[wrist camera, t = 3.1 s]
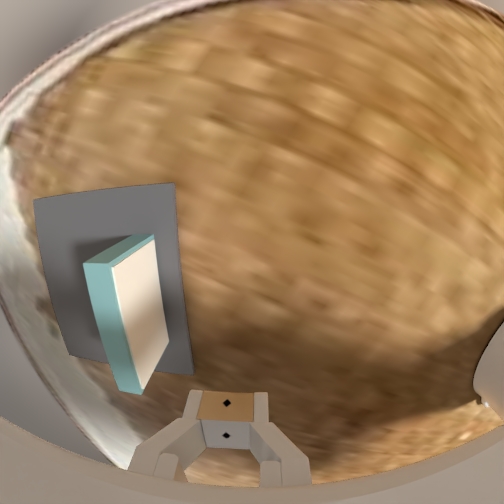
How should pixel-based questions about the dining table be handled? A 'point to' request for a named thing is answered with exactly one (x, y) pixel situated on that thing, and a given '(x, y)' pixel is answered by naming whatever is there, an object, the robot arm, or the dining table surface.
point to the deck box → (129, 309)
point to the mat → (96, 241)
